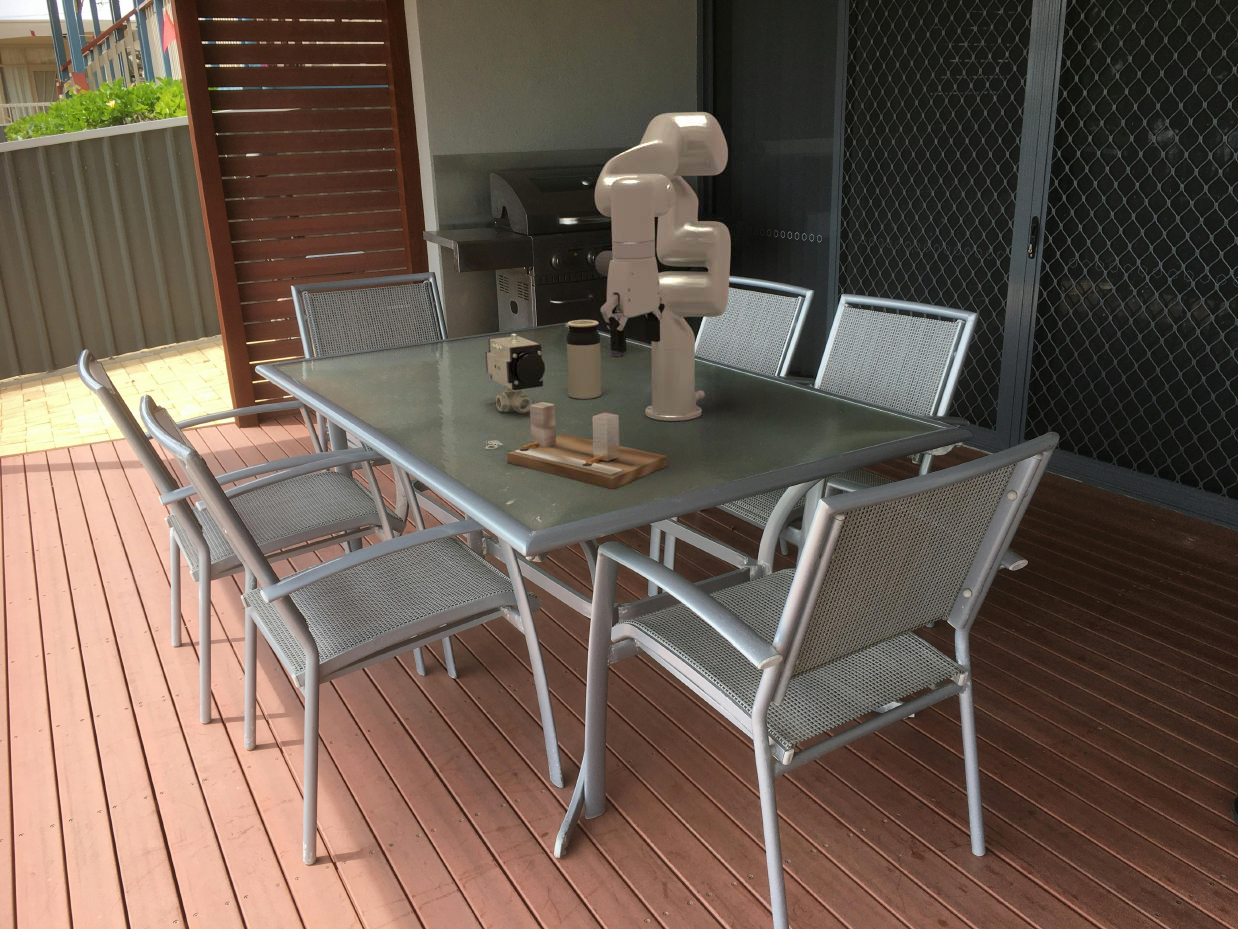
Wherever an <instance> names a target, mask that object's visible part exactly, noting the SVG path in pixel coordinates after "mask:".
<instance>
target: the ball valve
mask: <svg viewBox="0 0 1238 929" xmlns="http://www.w3.org/2000/svg"><path fill="white" fill-rule="evenodd" d="M487 339H488V351H486V352H485V353H484V354H485V366H486V367H485V368H486V373H487V374H489V375H490V379H491V380H492V381H494V382H496V383H498V384H500V385H503V386H504V388H508V389H505V390H504V392H502V393H501V394H496V397H495V404H496V408H497V410H498V411H499V412H504V413H513V412H517V413H519V414H526V413H528V412H529V413H530V405H533V404H534V402H533V399H532V397H531V396H530V395H529V394H527V393H526V392H524V391H522V390H527V389H534V388H541V387H544V378H543V377H544V374H545V371H546V365H545V362H544V360H543V357H542V344H541V343H538V342H535V341H532V340H530V339H527V338H524V337H521V336H518V334H517V333H511V334H510V335H509V336H502V337H501V336H500V337H492V338H491V337H490V338H487Z"/></svg>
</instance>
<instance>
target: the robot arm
mask: <svg viewBox="0 0 1238 929" xmlns="http://www.w3.org/2000/svg"><path fill="white" fill-rule="evenodd" d="M728 154H729V150H728V143H727V141H726V138H725V135H724V133H723V130H722V127H721V125H720V123H719V122H718V120H717V118H716V117H714V116H713V115H712V114H711V113H708V112H705V111H695V112H693V111H692V112H690V111H689V112H686V111H685V112H665V113H661V114H659V115H657V116H655V117H653V119H652V120H650V122H649V123H648V126H647V127H646V130H645V132H644V134H643V135H642V138H641V141H640V142H639V144H638V145H635V146H633V147H631V148H630V149H627V150H625V151H623V152H621V153H619V154H618V155H615V156H613V157H612V158H611V159H609V160H608V161H607V162H606V163H605V165H604V166H603V167H602V170H601V171H600V174H599V177H598V178H597V180H596V184H595V188H594V203H595V207H596V209H597V210H598V212H600V214H601V215H602V216H605V217H608V218H611V239H612V240H611V244H612V246H611V248H612V250H611V251H612V252H613V260H611V261H610V265H609V271H608V276H607V282H606V302H605V303H604V304H603V305H602V306H601V307H600V313H601V314H602V317H603V322H604V324H606V325H607V326H606V327H607V329H608V330H609V335H610V351H611V350H612V351H617V352H624V353H626V351H627V330H626V329H624V327H625V326H626V324H627V321H628V320H629V319H630V318H636V317H640V316H642V315H645V316H646V318H645V319H644V340H645V341H647V342H651V405H648V406H647V407H646V408H645V410H644V412H645V413H644V414H645V415H646V417H648V418H650V419H653V420H656V421H664V422H665V421H667V422H669V421H670V422H679V421H689V420H692V419H697V418H698V417H700V416H701V415H702V407H700V406H698V405H697V402H698V401H699V400H703V399H704V398H705V396H706V394H705V392H704V391H703V390H698V391H695V390H696V389H695V388H696V387H695V386H696V385H695V384H696V383H695V380H696V378H695V375H696V372H695V371H696V368H695V367H696V366H695V365H696V361H695V359H696V337H695V334H694V333H695V332H694V331H693V329H692V327H691V326H690V325H689V324H688V322H687V321H686V319H685V318H687V317H690V318H692V317H695V318H696V317H697V318H701V317H703V318H715V317H720V316H722V315H723V314H724V313H725V312H726V311H727V310H726V309H727V307H728V302H729V291H730V290H729V288H730V275H731V274H730V273H731V272H730V269H731V251H732V250H731V249H732V248H731V246H732V242H731V241H732V240H731V234H730V231H729V228H728V227H727V226H726V225H725V224H724V223H723V222H720V221H714V220H713V221H711V220H705V221H703V220H700V221H699V219H698V213H699V198H698V196H697V194H696V193H695V191H694V190H693V189H692V187H691V186H690V184H688V182H687V181H686V180H685V179H684V178H683V177H682V176H688V177H689V176H698V177H699V176H717V175H719V174H721V173H722V172H724V170H725V168H726V167H727V163H728V160H729V159H728V157H729V155H728ZM657 217H658V218H657ZM655 218H657V229H656V230H657V231H656V230H655V222H656V221H655ZM655 232H657V233H655ZM656 234H657V235H656ZM655 236H656V240H655ZM655 241H656V242H655ZM655 246H656V247H655ZM656 255H657V258H658V260H659V262H660V263H661V264H662V265H664V266H671V267H691V268H692V267H694V268H695V267H697V268H698V267H701V268H702V267H704V268H707V270H708V271H685V270H684V271H683V270H681V271H678V270H677V271H675V270H674V271H673V270H670V271H662V272H659V269H658V263H657V258H656ZM618 318H620V320H619V322H618V321H617V319H618Z"/></svg>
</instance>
